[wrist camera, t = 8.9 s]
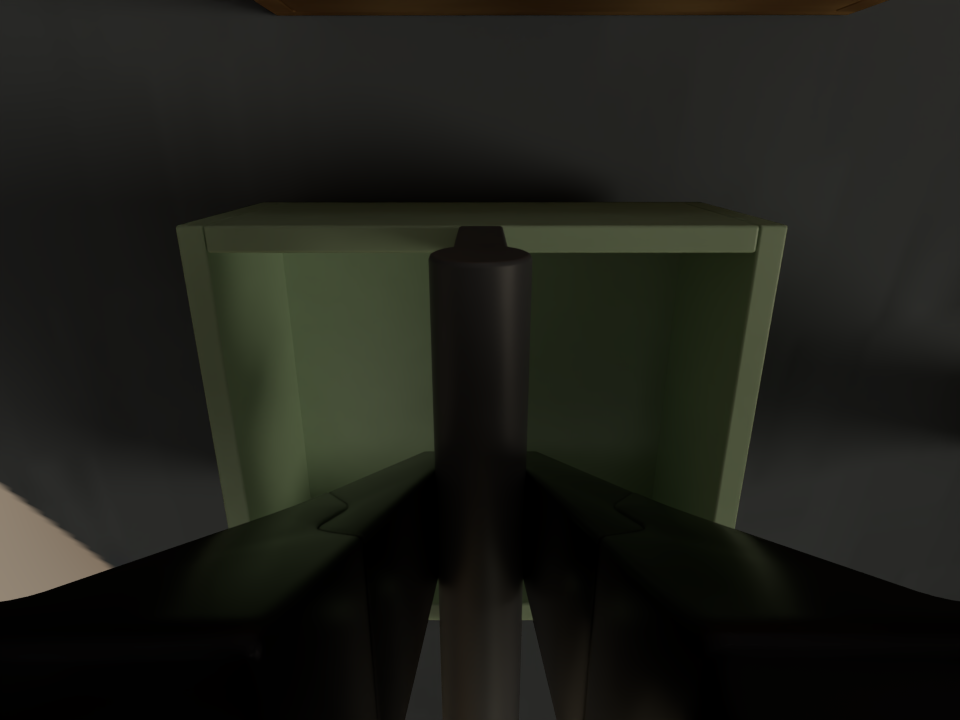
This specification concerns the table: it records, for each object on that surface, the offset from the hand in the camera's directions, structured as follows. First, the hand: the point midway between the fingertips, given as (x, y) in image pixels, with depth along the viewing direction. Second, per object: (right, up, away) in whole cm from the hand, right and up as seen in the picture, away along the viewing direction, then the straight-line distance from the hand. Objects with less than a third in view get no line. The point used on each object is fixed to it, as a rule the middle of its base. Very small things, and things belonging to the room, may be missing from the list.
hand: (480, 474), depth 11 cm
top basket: (0, +2, +5) cm, 6 cm away
